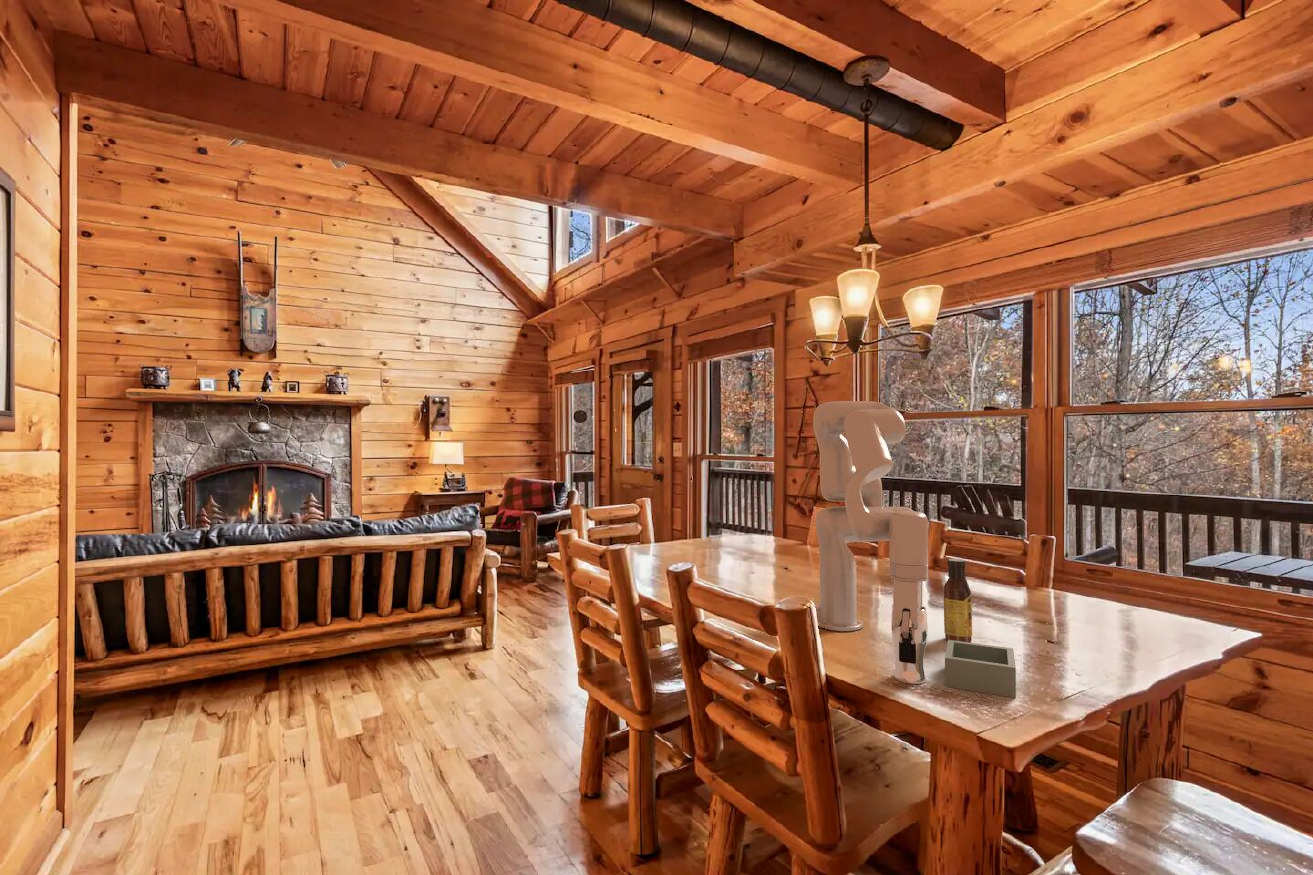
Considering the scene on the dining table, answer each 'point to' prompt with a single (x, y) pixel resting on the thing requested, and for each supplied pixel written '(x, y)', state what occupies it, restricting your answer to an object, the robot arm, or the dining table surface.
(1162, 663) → the dining table surface
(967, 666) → the box
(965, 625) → the sauce bottle
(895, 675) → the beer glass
